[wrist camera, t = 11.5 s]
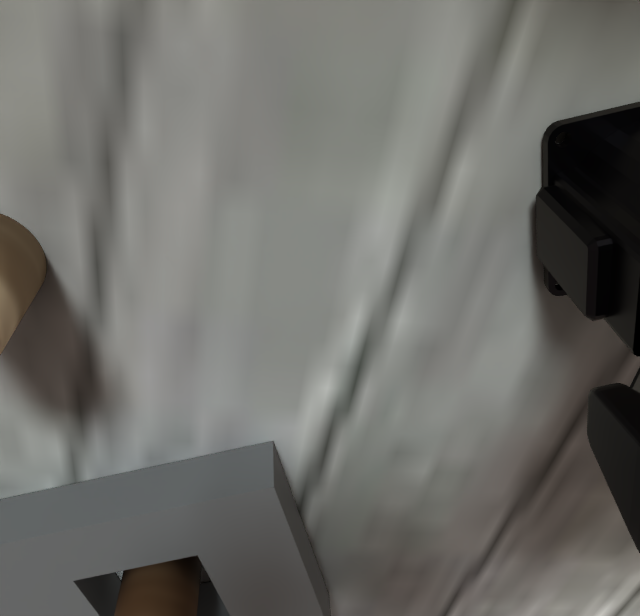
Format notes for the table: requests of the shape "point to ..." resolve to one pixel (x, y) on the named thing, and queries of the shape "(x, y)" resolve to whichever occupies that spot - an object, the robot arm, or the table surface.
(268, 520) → the slate hole plate
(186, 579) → the walnut pin
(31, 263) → the short beech pin
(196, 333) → the table surface
